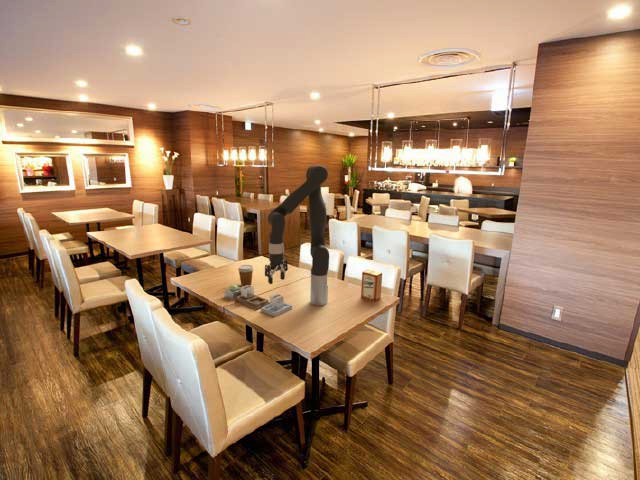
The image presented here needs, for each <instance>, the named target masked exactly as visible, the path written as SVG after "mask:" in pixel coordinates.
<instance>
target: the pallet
mask: <svg viewBox="0 0 640 480" xmlns="http://www.w3.org/2000/svg"><path fill="white" fill-rule="evenodd" d="M234 302H236V303H239V304H241V305H243V306H246V307H248V308H250V309H253V310H255V311H258V310H261V308H262V307H264V306H266V305H269V304H270V301H269V299H266V298H265V297H261V296H259V295H256V294H254V297H253V298H250V299H248V300H246V299H243V298H241V295H240V296H238V297H237V299H235V300H234Z"/></svg>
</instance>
